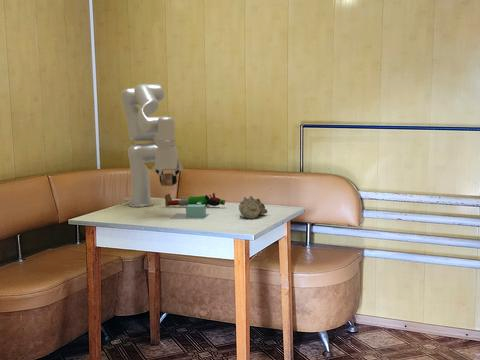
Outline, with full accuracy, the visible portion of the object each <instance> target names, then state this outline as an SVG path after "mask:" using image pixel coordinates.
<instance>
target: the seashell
mask: <svg viewBox="0 0 480 360" xmlns="http://www.w3.org/2000/svg"><path fill="white" fill-rule="evenodd" d="M239 203H240V204H238V211H239V214H240V215H241V216H243V217H244V218H246V219H247V220H248V219H249V220H250V219H251V220H252V219H253V220H254V219H256V218H258V217H259V215H264V214H267V213H268V209H266V206H265V204H264V203H262V202H261V199H260V198H254V197H253V196H252V195H250V196H249V197H248V198H247V197H246V196H243V199H242V201H240V202H239Z"/></svg>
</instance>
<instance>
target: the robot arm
mask: <svg viewBox="0 0 480 360" xmlns="http://www.w3.org/2000/svg"><path fill="white" fill-rule="evenodd" d="M164 97H165V91H164V88H163V86H162V85H161V84H159V83H141V84H138V85H136V86H135V87H128V88H124V89H122V91H121V93H120V103H121V106H122V108H123V111H124V114H125V116H126V124H127V134H128V138H129V140H130V141H131V142H135V144H131V145H130V146H129V147H128V148H127V157H128V162H129V168H130V186H131V189H130V190H131V196H130V197H129V196H125V197H124V201H125V202H129V203H128V206H129V207H133V208H144V207H145V208H146V207H152V206H154V204H155V203H154V201H152V200H151V183H150V179H151V178H150V177H151V176H150V170H149V168H148V166H147V165H146V164H145V163H154V162H155V163H154V164H153V165H152V168H151V170H153V171H154V172H155V173H156V174H157V175H158V176H159V183H160V184H161V175H162V174H164V171H167V170H169V171H170V170H171V172H172V173H173V176H172V184H173V186H174V184H175V185H176V184H177V183H178V174H179V173H180V172H181V171H182V170H183V169H184V166H183V165H182V164H181V163H180V159H179V158H180V157H179V152H178V147H176V135H175V134H176V132H175V119H174V117H172V116H171V117H170V116H165V115H163V116H151V115H153V114H155V112H157V111H158V109H159V107H160V105H159V103H160V102H161V101H163V100H164ZM137 105H139V107H140V108H139V107H138V106H137ZM136 142H149V143H136Z"/></svg>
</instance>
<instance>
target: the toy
mask: <svg viewBox="0 0 480 360" xmlns="http://www.w3.org/2000/svg"><path fill="white" fill-rule="evenodd" d="M164 200H165V203H164V204H165V205H164V206H165V207H169V206H179V207H182V206H183V207H184V206H185V207H186V206H187V205H189V204H191V205H206V207H207V208H209V207H217V206H220V205H222V206H225V205H226V199H221V198H219V197H216V193H215V192H213V193H212V194H208V195H207V194H205V195H200V196H188V198H181V199H172V197H171V193H166V194H165V195H164ZM208 206H209V207H208Z"/></svg>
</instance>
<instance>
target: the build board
mask: <svg viewBox="0 0 480 360" xmlns="http://www.w3.org/2000/svg"><path fill="white" fill-rule="evenodd" d="M208 216H210V213H206V216H205V217H203V218H199V217H186V213H176V214H174V215H172V216H171V217H170V218H169V220H170V219H171V220H204V219H206V218H207V217H208Z"/></svg>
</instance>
